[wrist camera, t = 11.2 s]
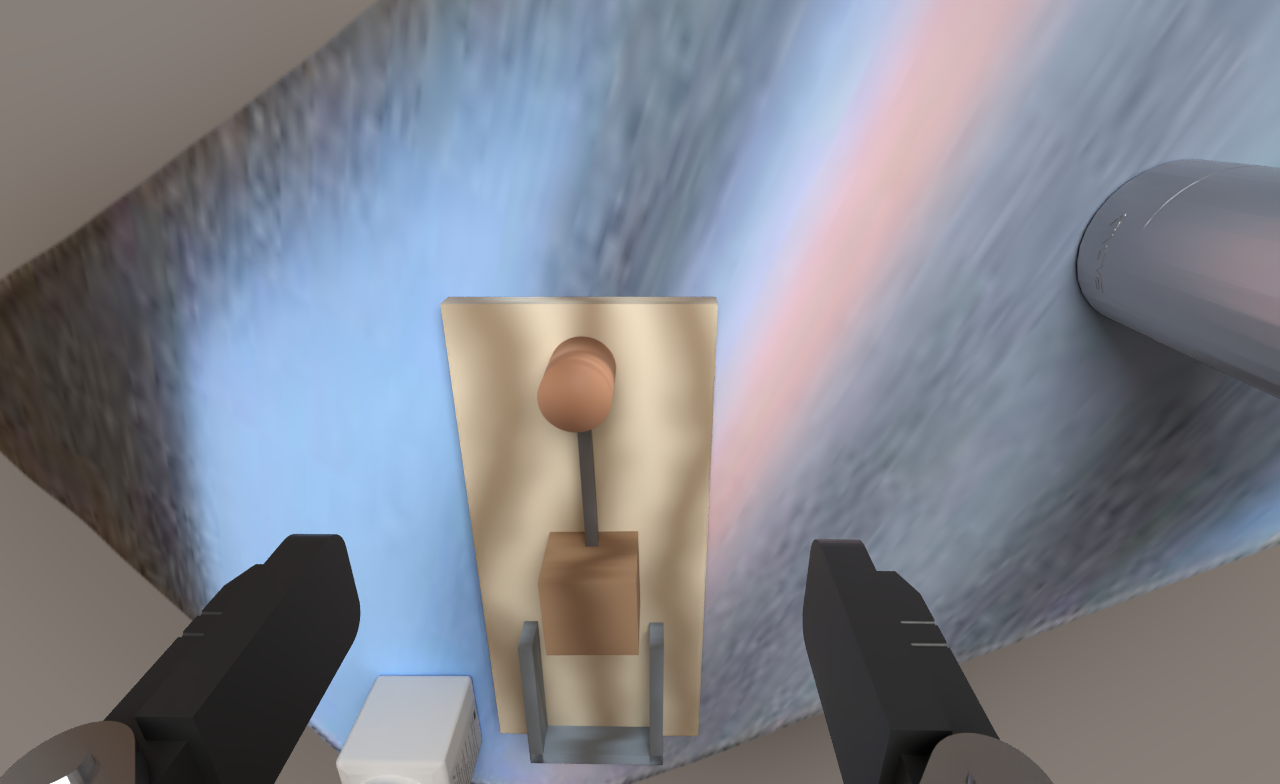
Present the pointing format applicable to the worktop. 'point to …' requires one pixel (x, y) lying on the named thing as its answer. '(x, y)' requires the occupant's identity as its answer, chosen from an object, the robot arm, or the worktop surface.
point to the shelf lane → (552, 502)
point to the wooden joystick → (586, 521)
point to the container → (413, 733)
